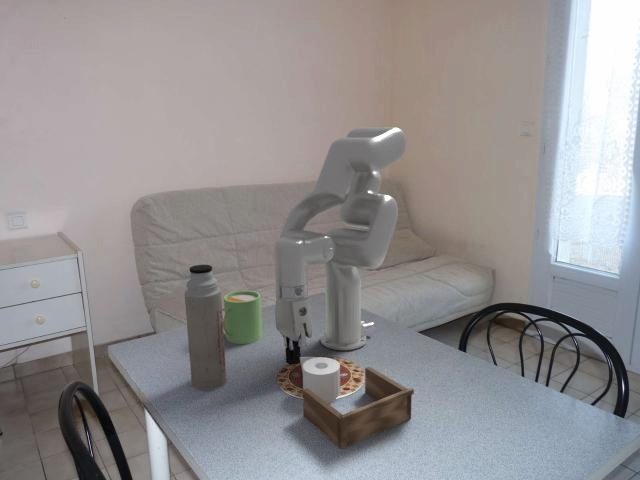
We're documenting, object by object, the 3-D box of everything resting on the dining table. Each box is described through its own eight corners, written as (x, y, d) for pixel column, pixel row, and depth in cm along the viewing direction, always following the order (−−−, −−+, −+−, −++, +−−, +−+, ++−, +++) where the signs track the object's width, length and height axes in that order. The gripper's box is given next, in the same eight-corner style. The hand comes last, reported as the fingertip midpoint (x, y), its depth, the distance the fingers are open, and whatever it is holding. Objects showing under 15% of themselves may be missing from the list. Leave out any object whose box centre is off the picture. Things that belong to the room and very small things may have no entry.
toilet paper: (304, 379, 120) (303, 351, 118) (346, 390, 114) (346, 362, 112) (284, 394, 113) (283, 366, 111) (328, 408, 107) (328, 378, 106)
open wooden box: (369, 391, 113) (369, 363, 112) (413, 419, 102) (413, 389, 101) (303, 416, 104) (302, 386, 102) (343, 450, 93) (343, 417, 91)
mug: (243, 326, 151) (240, 288, 149) (269, 334, 145) (267, 294, 143) (211, 341, 141) (208, 300, 139) (238, 350, 135) (235, 307, 133)
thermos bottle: (231, 375, 122) (224, 262, 116) (218, 392, 114) (210, 272, 108) (200, 372, 123) (192, 261, 117) (185, 389, 116) (175, 270, 110)
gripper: (322, 295, 115) (323, 370, 119) (289, 279, 127) (290, 348, 131) (294, 301, 111) (296, 379, 114) (262, 285, 123) (265, 355, 127)
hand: (293, 362), depth 123 cm, fingers closed
